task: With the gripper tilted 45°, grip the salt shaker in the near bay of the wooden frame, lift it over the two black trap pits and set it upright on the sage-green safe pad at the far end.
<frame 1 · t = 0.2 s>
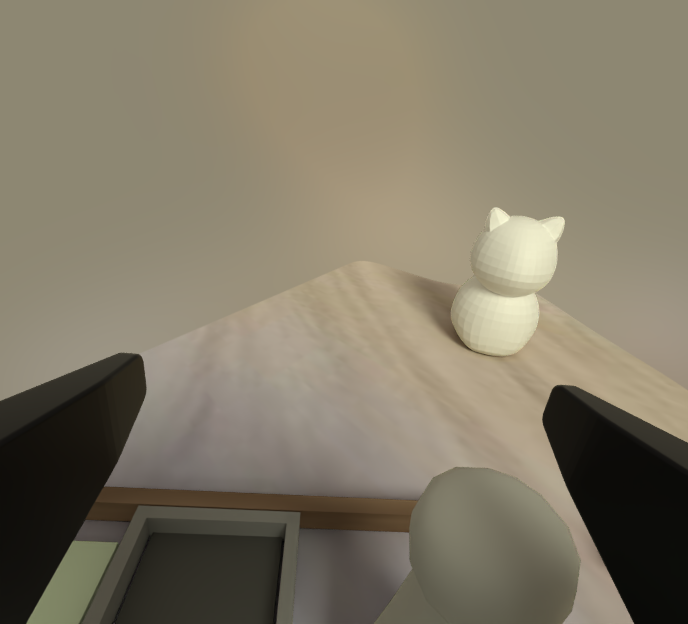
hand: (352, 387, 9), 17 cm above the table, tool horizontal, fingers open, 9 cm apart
cat figurine: (483, 339, 47), on the table
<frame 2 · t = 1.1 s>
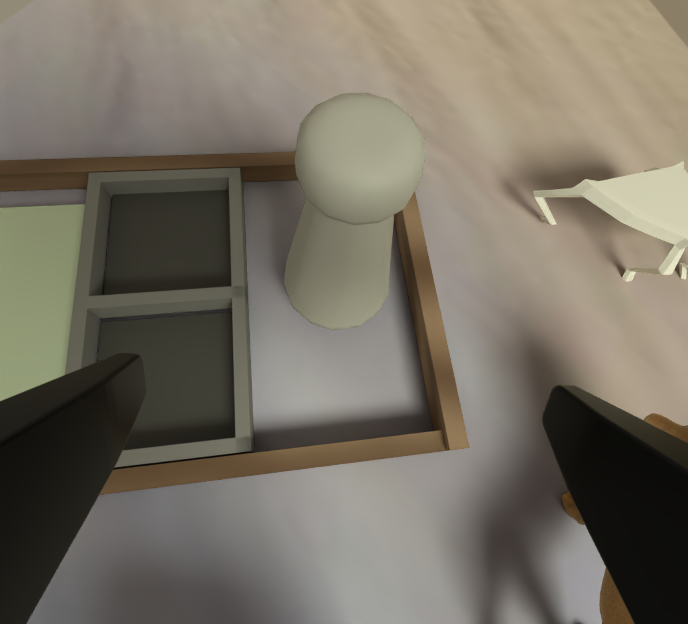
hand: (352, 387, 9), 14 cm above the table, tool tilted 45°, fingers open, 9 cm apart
wooden frame: (169, 307, 23), on the table
trap pits: (165, 302, 23), in the wooden frame
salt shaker: (334, 296, 25), resting in wooden frame
origami figure: (600, 239, 28), on the table
lion figurine: (566, 556, 21), on the table
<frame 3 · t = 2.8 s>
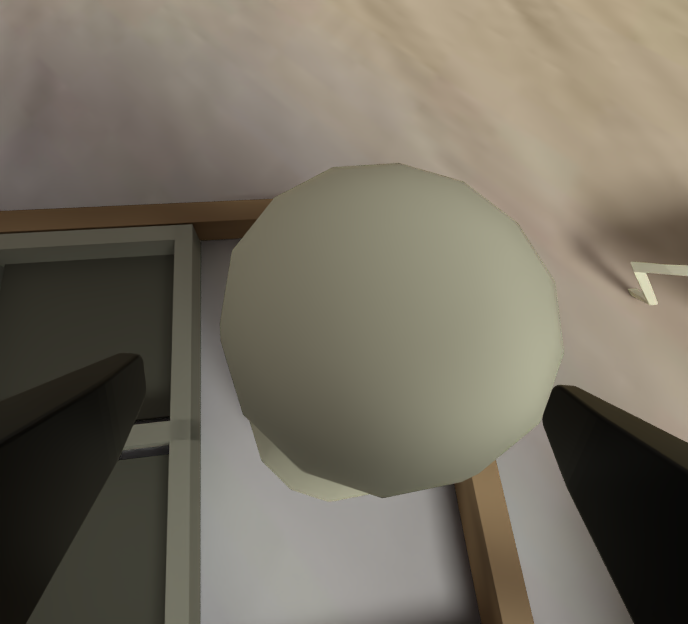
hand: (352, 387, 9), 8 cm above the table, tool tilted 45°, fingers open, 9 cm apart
wooden frame: (78, 445, 15), on the table
trap pits: (67, 444, 15), in the wooden frame
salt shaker: (331, 417, 17), resting in wooden frame
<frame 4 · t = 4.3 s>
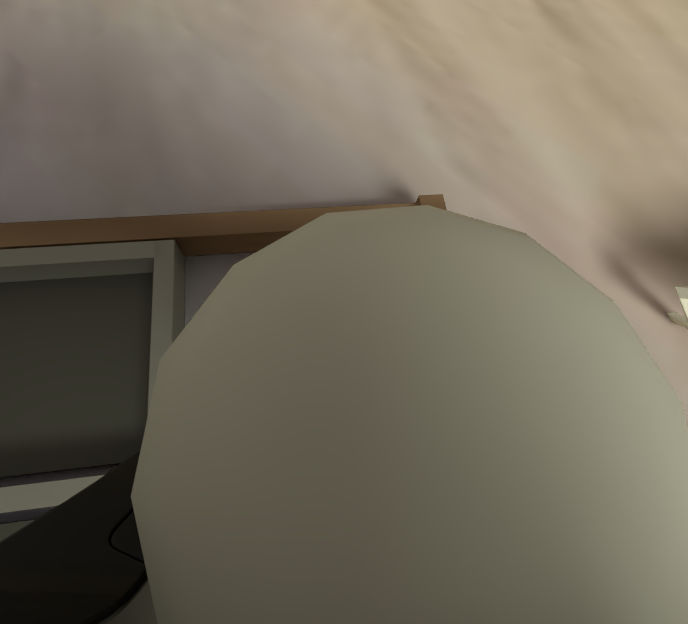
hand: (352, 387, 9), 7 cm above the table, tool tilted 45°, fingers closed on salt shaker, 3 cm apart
wooden frame: (43, 494, 13), on the table
trap pits: (28, 496, 13), in the wooden frame
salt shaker: (330, 458, 15), resting in wooden frame, touching gripper
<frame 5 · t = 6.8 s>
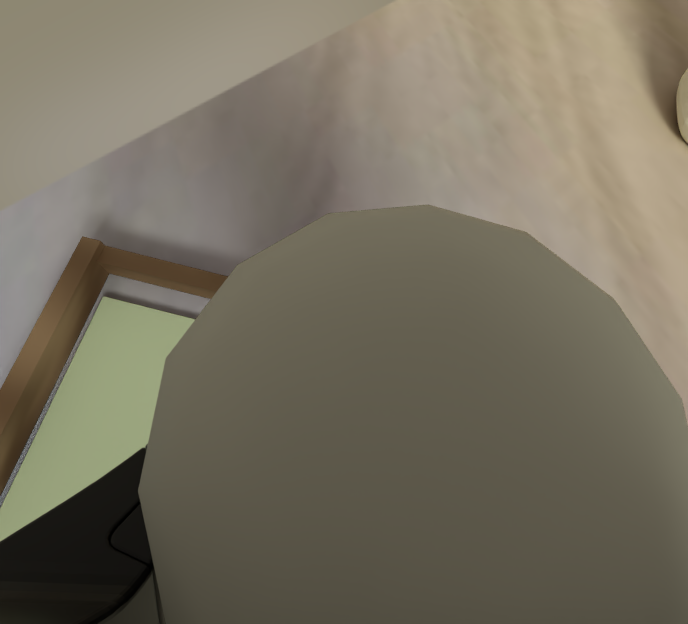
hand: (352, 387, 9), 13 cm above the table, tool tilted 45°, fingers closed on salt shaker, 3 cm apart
safe pad: (128, 445, 20), resting in wooden frame
wooden frame: (308, 490, 20), on the table
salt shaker: (336, 457, 15), point 7 cm above the table, touching gripper
when the fingers open (8 cm above the table, at t = 9.4 s): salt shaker drops 1 cm, resting on safe pad.
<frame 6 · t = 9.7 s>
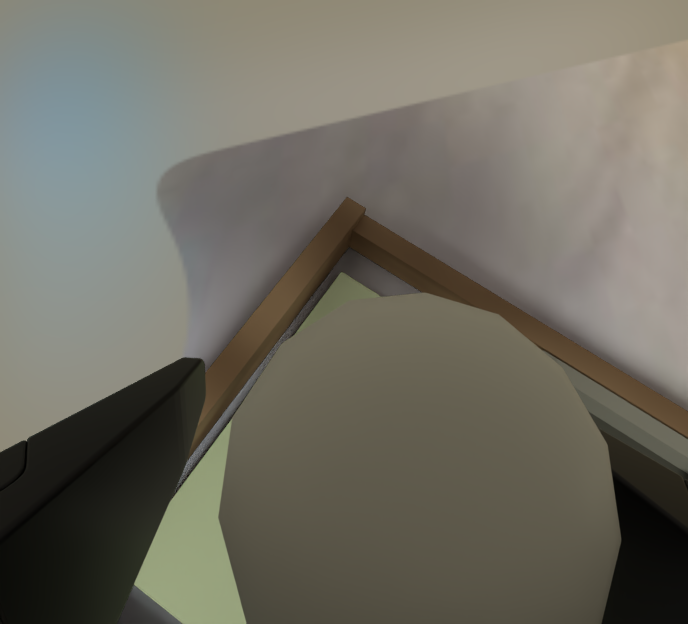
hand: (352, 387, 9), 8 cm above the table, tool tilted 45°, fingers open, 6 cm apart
safe pad: (333, 461, 16), resting in wooden frame
wooden frame: (540, 607, 15), on the table
trap pits: (552, 614, 14), in the wooden frame
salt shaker: (333, 465, 16), resting on safe pad
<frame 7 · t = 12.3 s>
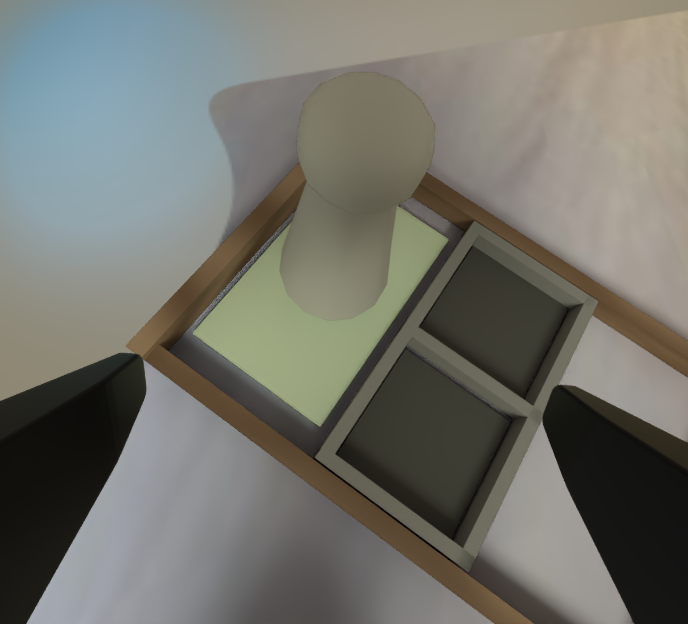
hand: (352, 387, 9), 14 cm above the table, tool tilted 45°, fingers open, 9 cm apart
safe pad: (330, 285, 24), resting in wooden frame
wooden frame: (461, 375, 23), on the table
trap pits: (466, 373, 23), in the wooden frame
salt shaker: (330, 285, 24), resting on safe pad
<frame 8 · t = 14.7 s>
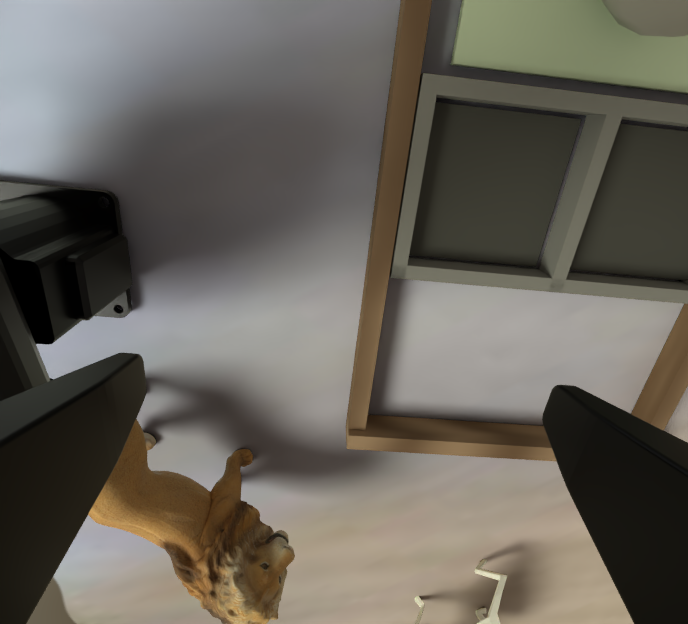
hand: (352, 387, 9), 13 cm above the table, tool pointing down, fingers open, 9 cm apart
wooden frame: (567, 198, 20), on the table
trap pits: (575, 201, 20), in the wooden frame
origami figure: (455, 589, 34), on the table
lion figurine: (205, 440, 26), on the table
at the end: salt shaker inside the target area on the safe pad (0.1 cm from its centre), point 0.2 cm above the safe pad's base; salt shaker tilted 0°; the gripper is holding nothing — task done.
